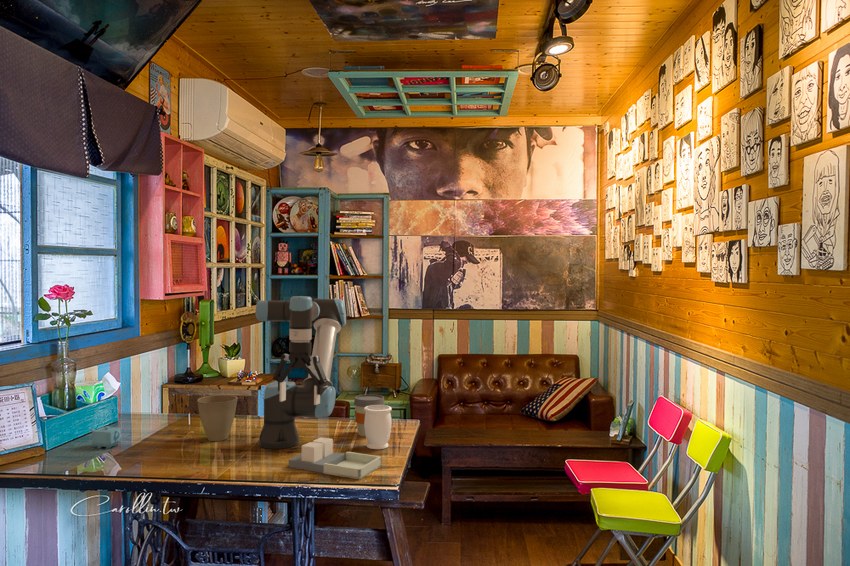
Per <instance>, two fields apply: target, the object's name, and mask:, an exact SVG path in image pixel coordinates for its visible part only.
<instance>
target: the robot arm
mask: <svg viewBox="0 0 850 566" xmlns="http://www.w3.org/2000/svg"><path fill="white" fill-rule="evenodd" d="M346 313H347V312H346V305H345V302H344V300H343V299H341V298H340V299H339V298H312V297H311V296H303V295H299V296H298V295H296V296H294V295H293V296H291V297H290V299H289V300H268V299H266V300H259V301H258V302H257V303H256V305H255V317H256V319H257V320H258V321H259V322H261V321H262V322H289V329H288V331H289V334H288V336H289V337H288V338H289V344H288V345H289V347H288V348H289V349H288V352H289V354H288V353H283V354H281V356H280V361H279V363H278V365H277V368H276V370H275V372H274V374H273V377H272V380H273V381H276V383H272V384H269V385H267V386H266V387H265V388H264V393H263V425H262V428H261V432H260V433H259V436H258V446H259V447H260V448H263V449H268V450H269V449H270V450H281V449H288V448H292V447H296V446H298V445H299V444H300V435H299V433H298V430H297V426H296V422H295V421H296V420H295V419H296V418H317V419H319V418H328V417H329V416H330V415H331V414H332V413H333V411H334V408H335V404H336V398H337V397H336V395H337V391H336V388H335V387H334V386H333V382H332V381H331V372H332V367H333V359H334V354H335V347H336V339H337V334H338V333H339V332H341V330H342V327H345V326H346V324H347V314H346ZM312 326H313V328H314V330H315V336H314V340H313V345H312V341H311V340H312V338H313V337H312V336H313V335H312V333H313V332H312V329H313V328H312ZM312 347H313V348H312ZM288 361H289V364H288V365H287V363H288ZM286 365H287V367H286ZM285 367H286V368H285ZM284 369H285V370H284ZM294 369H301V370H302V369H304V370H305V371H306V372H307V373H308V375H307V378H305V379H304V380H303V382H302V385H301V386H299V385H297V384H296V383H295V381H285V380H286V378H287V377H288V376H289V375H290V373H291V372H292V371H293V370H294ZM296 385H297V386H296Z"/></svg>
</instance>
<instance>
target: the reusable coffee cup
mask: <svg viewBox="0 0 850 566" xmlns="http://www.w3.org/2000/svg"><path fill="white" fill-rule="evenodd" d="M353 401H354V403H353V405H354V408H355V410H354V419H355V423H356V427H357V434H358V435H359V436H361V437H366V435H365V427H364V420H365V414H366V411H365V407H366V406H370V405H385V396H383V395H381V394H371V393H370V394H367V393H366V394H359V395H356V396H355V397H354V400H353Z"/></svg>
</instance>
